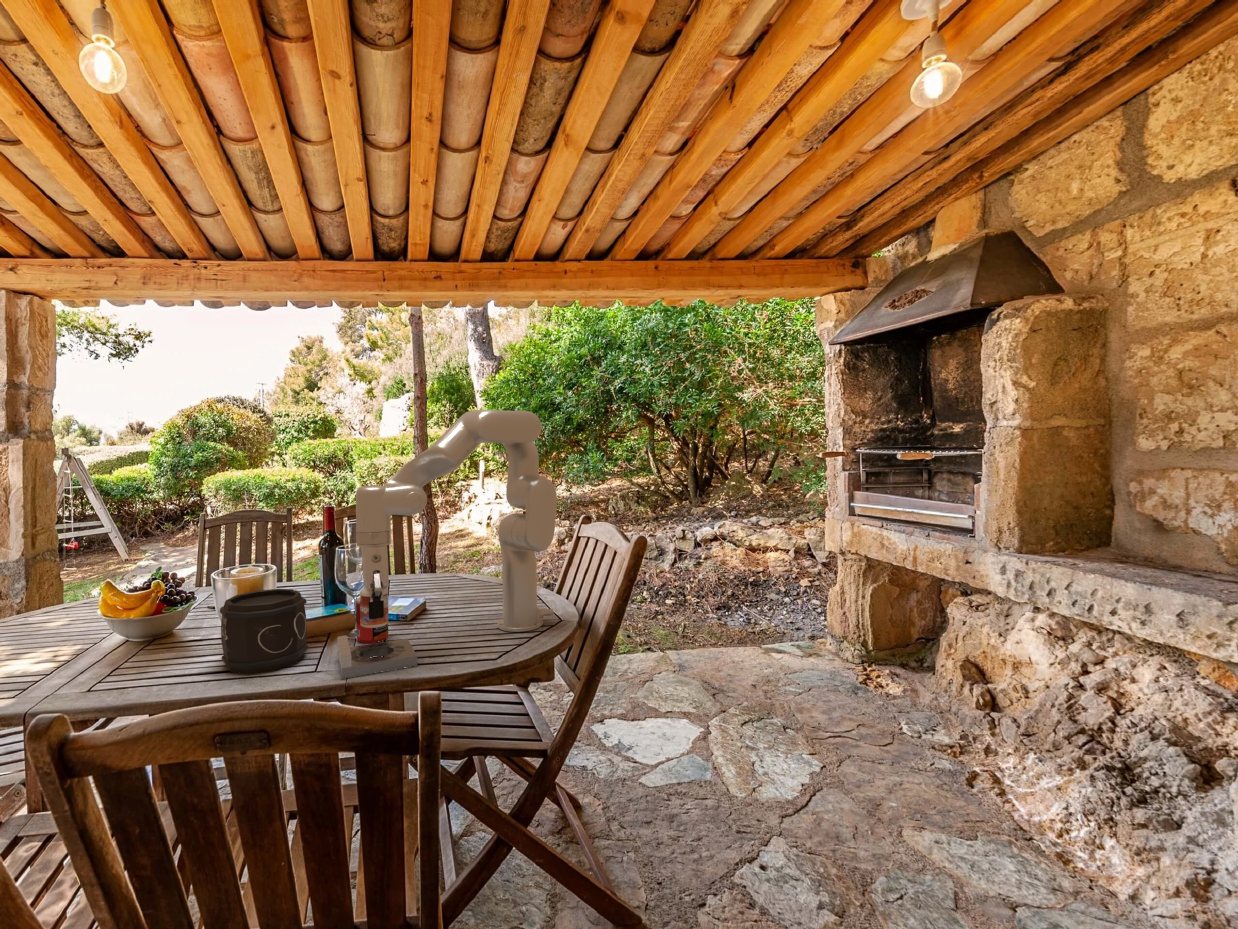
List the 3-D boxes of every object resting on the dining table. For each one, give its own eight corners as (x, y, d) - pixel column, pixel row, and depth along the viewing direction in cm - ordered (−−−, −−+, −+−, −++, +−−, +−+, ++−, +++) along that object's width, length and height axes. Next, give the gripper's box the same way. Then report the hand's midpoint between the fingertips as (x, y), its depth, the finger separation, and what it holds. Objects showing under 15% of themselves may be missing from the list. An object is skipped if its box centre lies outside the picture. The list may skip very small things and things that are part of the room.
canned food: (377, 644, 157) (376, 602, 157) (350, 643, 159) (349, 601, 158) (394, 635, 165) (393, 595, 164) (367, 633, 166) (366, 593, 166)
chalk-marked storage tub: (325, 650, 153) (324, 588, 152) (271, 678, 136) (269, 608, 135) (264, 646, 157) (262, 585, 156) (203, 672, 139) (200, 604, 139)
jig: (407, 648, 154) (407, 626, 154) (417, 666, 142) (416, 643, 142) (338, 659, 147) (337, 636, 147) (341, 679, 135) (341, 654, 134)
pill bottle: (355, 625, 143) (354, 578, 143) (380, 619, 148) (379, 574, 148) (368, 630, 139) (367, 582, 139) (393, 624, 144) (393, 577, 144)
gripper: (395, 542, 137) (396, 622, 138) (386, 532, 153) (386, 604, 153) (359, 545, 134) (360, 626, 134) (353, 534, 149) (354, 607, 150)
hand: (374, 613), depth 144 cm, fingers closed on pill bottle, 6 cm apart
